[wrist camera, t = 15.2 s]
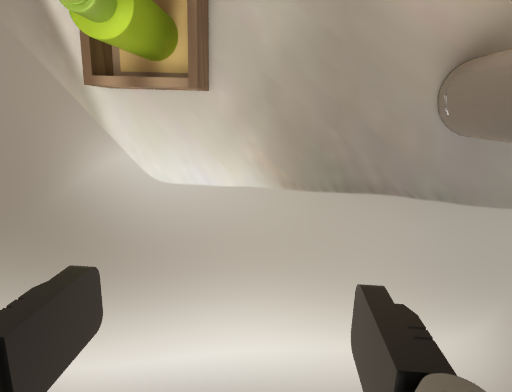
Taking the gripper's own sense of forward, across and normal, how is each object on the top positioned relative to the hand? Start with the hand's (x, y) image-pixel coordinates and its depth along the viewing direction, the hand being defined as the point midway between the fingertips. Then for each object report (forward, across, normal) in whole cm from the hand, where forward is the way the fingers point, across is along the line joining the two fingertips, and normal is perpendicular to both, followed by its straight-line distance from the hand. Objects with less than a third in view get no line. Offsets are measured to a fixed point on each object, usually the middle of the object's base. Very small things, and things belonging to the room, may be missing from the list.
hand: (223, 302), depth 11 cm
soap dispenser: (+35, +14, -14) cm, 41 cm away
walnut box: (+36, +15, -14) cm, 41 cm away
